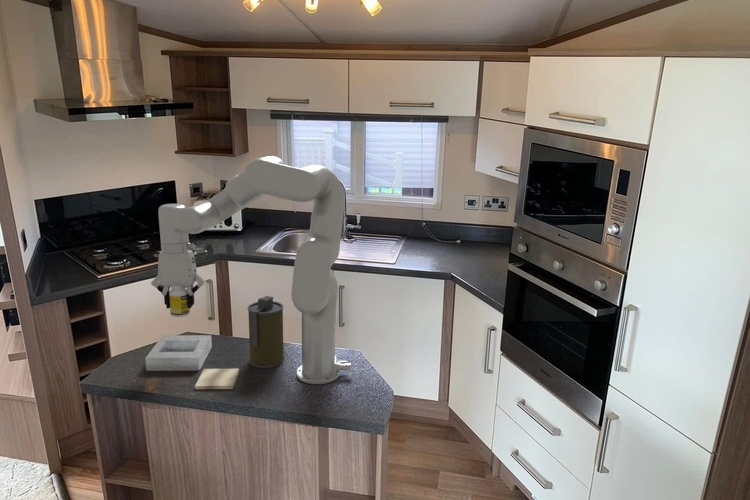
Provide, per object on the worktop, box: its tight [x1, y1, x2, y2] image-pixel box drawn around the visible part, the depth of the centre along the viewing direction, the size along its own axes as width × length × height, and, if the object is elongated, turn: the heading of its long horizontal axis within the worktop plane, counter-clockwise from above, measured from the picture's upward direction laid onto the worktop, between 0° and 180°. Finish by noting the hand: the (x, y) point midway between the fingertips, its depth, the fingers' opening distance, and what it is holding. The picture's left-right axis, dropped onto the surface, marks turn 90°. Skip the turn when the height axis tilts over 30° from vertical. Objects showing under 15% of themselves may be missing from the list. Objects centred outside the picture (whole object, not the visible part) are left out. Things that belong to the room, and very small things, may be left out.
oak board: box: [194, 368, 240, 390], centre depth 151 cm, size 10×10×1 cm
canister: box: [247, 295, 285, 369], centre depth 161 cm, size 11×10×20 cm
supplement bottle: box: [169, 286, 191, 318], centre depth 158 cm, size 5×5×10 cm
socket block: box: [144, 334, 213, 372], centre depth 163 cm, size 15×16×4 cm
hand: (179, 306), depth 159 cm, fingers closed on supplement bottle, 5 cm apart
